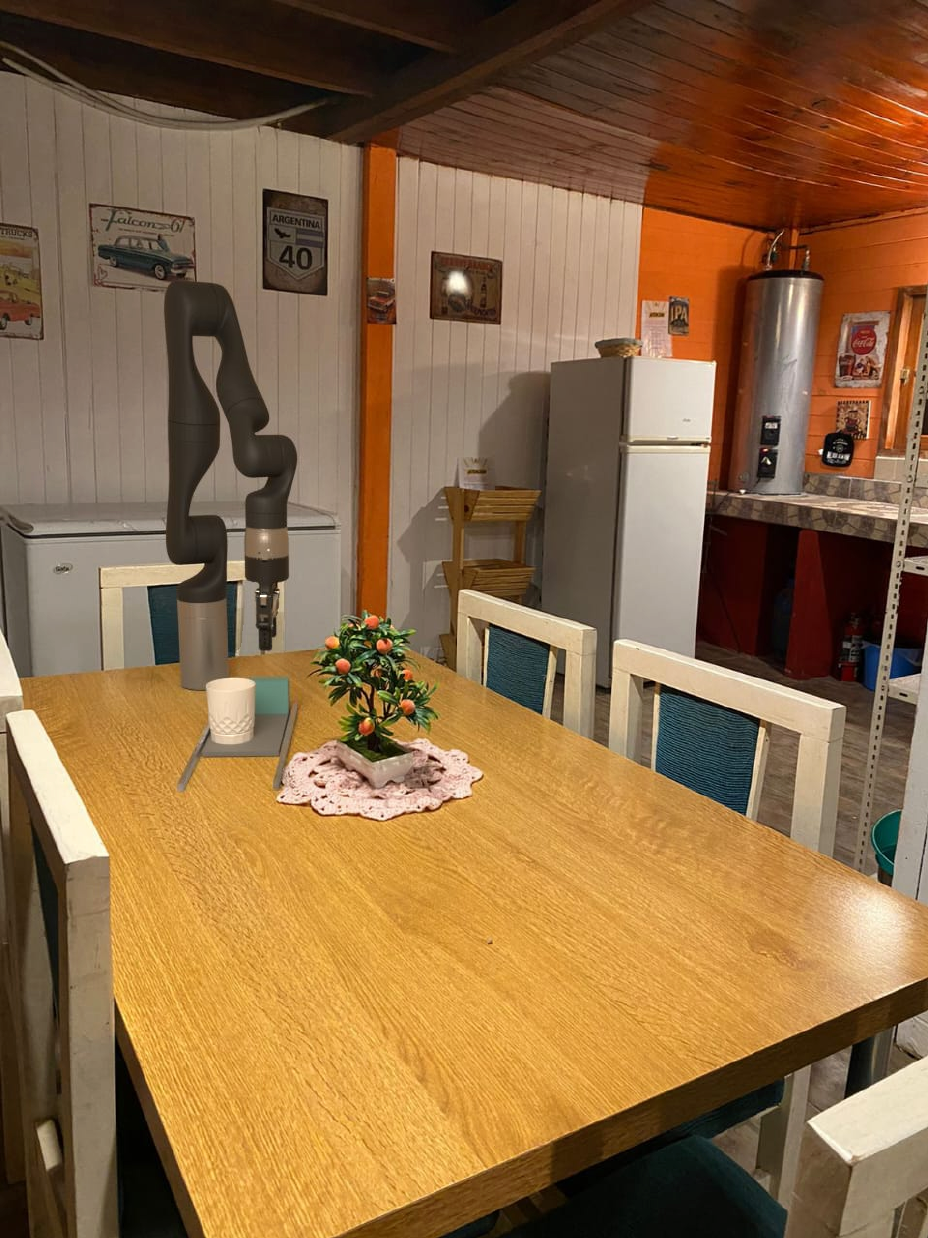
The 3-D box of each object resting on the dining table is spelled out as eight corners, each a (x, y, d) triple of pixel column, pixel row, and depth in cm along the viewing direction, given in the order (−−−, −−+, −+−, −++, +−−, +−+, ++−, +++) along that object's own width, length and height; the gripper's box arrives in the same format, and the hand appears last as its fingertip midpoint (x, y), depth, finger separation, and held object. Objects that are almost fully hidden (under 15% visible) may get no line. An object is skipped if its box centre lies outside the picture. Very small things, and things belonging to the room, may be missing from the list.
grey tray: (222, 712, 176) (221, 676, 174) (290, 712, 177) (289, 675, 175) (201, 756, 154) (200, 715, 153) (279, 755, 155) (278, 715, 154)
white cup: (203, 750, 157) (200, 690, 155) (213, 734, 165) (211, 677, 163) (252, 751, 157) (250, 691, 155) (260, 734, 165) (259, 677, 163)
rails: (217, 709, 178) (217, 702, 177) (297, 708, 179) (297, 702, 179) (177, 791, 141) (177, 784, 141) (278, 790, 142) (278, 782, 142)
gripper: (249, 545, 175) (250, 632, 179) (239, 559, 161) (241, 654, 165) (291, 545, 175) (292, 633, 179) (285, 560, 162) (286, 654, 166)
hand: (267, 643), depth 172 cm, fingers open, 8 cm apart
